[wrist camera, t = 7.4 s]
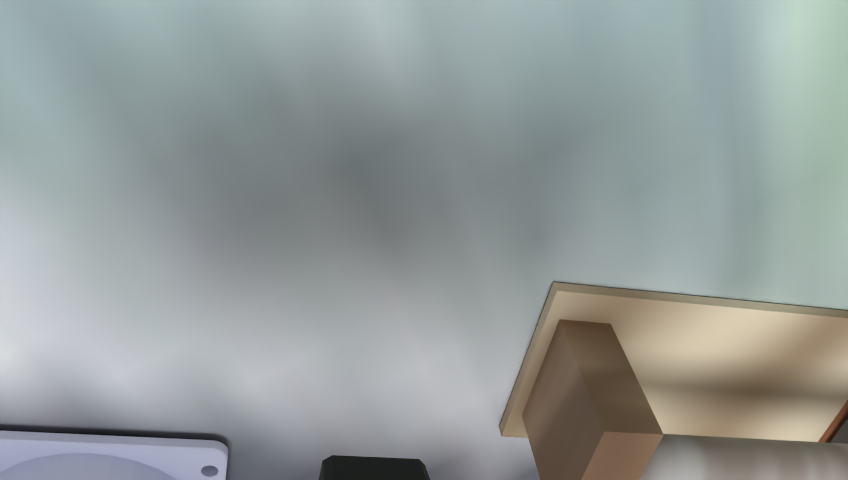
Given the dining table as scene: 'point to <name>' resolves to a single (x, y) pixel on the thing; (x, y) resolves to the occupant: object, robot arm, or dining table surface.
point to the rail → (681, 388)
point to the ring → (841, 434)
